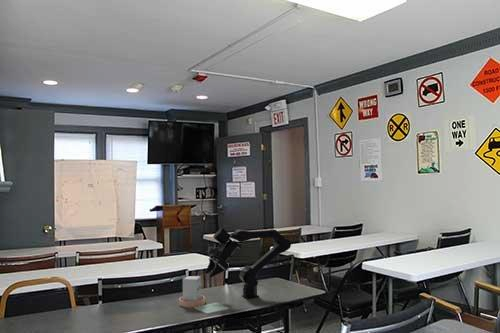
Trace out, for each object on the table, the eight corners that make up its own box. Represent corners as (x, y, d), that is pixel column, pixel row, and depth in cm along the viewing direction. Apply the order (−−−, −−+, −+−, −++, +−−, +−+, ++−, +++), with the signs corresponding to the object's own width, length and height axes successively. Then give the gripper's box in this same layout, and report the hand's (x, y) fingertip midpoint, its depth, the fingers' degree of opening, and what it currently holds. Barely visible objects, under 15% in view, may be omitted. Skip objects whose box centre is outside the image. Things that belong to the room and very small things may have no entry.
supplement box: (196, 305, 196) (196, 279, 197) (182, 305, 198) (182, 279, 198) (201, 301, 203) (201, 276, 204) (187, 301, 205) (187, 275, 205)
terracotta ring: (197, 298, 209) (197, 293, 209) (209, 303, 199) (209, 298, 199) (174, 302, 202) (174, 297, 202) (186, 308, 192) (186, 303, 192)
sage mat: (216, 303, 199) (216, 302, 199) (229, 309, 190) (229, 308, 190) (194, 308, 192) (194, 307, 192) (207, 314, 183) (207, 313, 183)
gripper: (211, 238, 215) (192, 261, 211) (221, 242, 197) (200, 268, 193) (227, 251, 217) (208, 275, 213) (237, 257, 199) (217, 282, 195)
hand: (207, 275), depth 203 cm, fingers open, 9 cm apart
